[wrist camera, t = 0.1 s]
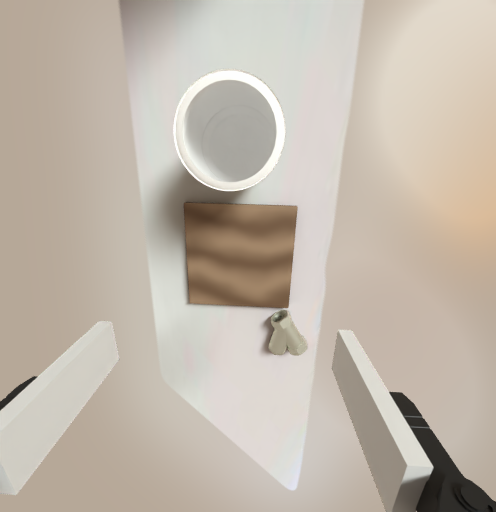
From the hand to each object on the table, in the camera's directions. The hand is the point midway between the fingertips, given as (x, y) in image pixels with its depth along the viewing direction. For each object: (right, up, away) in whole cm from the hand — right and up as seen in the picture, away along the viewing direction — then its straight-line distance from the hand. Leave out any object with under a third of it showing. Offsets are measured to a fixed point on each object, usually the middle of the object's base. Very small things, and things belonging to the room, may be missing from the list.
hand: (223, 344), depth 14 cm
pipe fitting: (+8, -9, +33) cm, 35 cm away
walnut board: (0, +5, +28) cm, 28 cm away
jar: (0, +21, +22) cm, 31 cm away
